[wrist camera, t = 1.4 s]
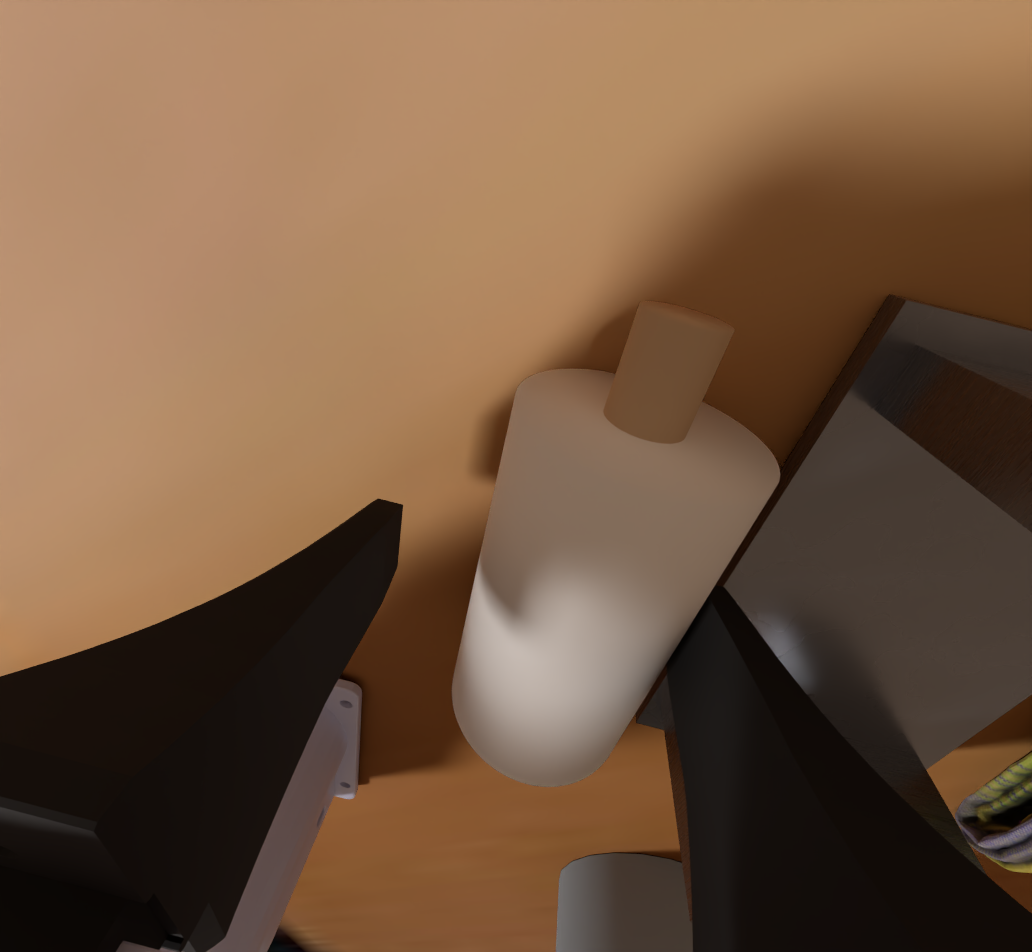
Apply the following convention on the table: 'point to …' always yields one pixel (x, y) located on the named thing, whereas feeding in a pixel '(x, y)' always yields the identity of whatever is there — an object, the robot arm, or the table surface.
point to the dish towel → (1002, 817)
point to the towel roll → (602, 546)
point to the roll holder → (899, 552)
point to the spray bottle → (623, 905)
